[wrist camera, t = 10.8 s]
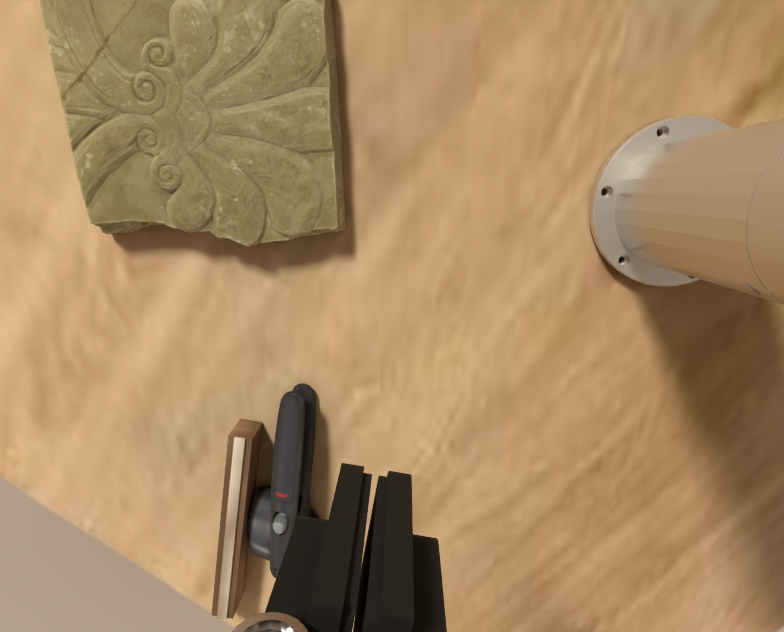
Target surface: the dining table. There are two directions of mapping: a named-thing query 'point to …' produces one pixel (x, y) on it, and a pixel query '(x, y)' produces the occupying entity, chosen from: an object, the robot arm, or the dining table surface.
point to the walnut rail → (236, 516)
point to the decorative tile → (202, 114)
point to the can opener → (285, 479)
